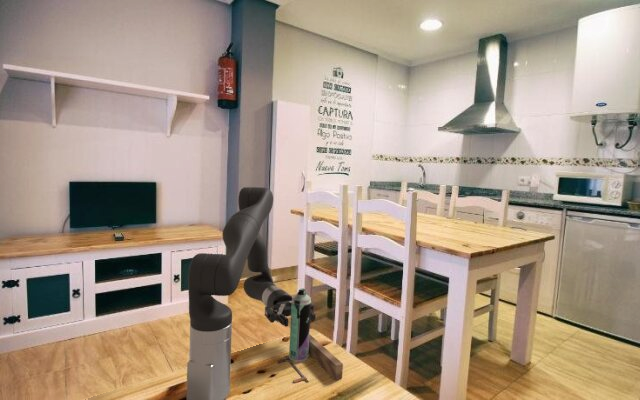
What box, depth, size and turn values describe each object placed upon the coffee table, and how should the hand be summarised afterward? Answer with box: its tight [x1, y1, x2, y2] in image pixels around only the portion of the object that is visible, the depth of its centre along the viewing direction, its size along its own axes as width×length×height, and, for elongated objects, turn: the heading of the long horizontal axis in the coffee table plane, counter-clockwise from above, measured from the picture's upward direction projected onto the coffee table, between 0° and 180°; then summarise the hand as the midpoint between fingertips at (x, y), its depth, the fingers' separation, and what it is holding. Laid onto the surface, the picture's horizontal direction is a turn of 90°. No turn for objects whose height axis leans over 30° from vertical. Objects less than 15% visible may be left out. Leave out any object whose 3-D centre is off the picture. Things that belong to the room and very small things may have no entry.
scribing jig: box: [276, 333, 344, 384], centre depth 95 cm, size 18×12×4 cm, turn 31°
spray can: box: [288, 288, 312, 363], centre depth 99 cm, size 6×6×20 cm
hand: (300, 320), depth 99 cm, fingers open, 8 cm apart
